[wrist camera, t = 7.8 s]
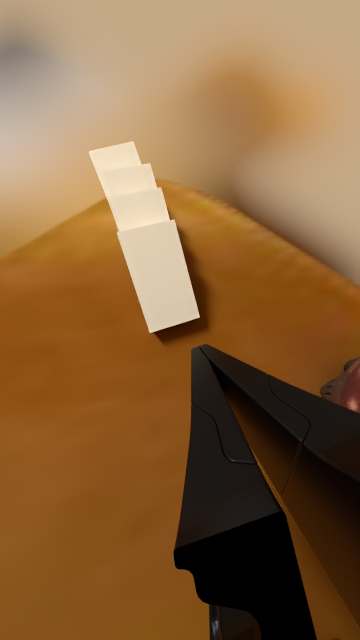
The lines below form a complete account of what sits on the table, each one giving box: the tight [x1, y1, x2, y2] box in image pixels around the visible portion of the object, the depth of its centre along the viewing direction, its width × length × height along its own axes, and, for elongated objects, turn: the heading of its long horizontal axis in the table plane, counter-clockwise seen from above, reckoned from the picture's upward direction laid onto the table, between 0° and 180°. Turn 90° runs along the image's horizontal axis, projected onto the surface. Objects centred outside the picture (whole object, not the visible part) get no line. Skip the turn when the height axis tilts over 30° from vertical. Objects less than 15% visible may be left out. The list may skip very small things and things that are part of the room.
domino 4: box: [117, 220, 200, 333], centre depth 15 cm, size 2×6×10 cm
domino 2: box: [101, 163, 157, 197], centre depth 18 cm, size 2×6×10 cm
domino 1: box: [89, 141, 141, 207], centre depth 19 cm, size 2×6×10 cm
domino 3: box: [108, 187, 170, 231], centre depth 16 cm, size 2×6×10 cm
